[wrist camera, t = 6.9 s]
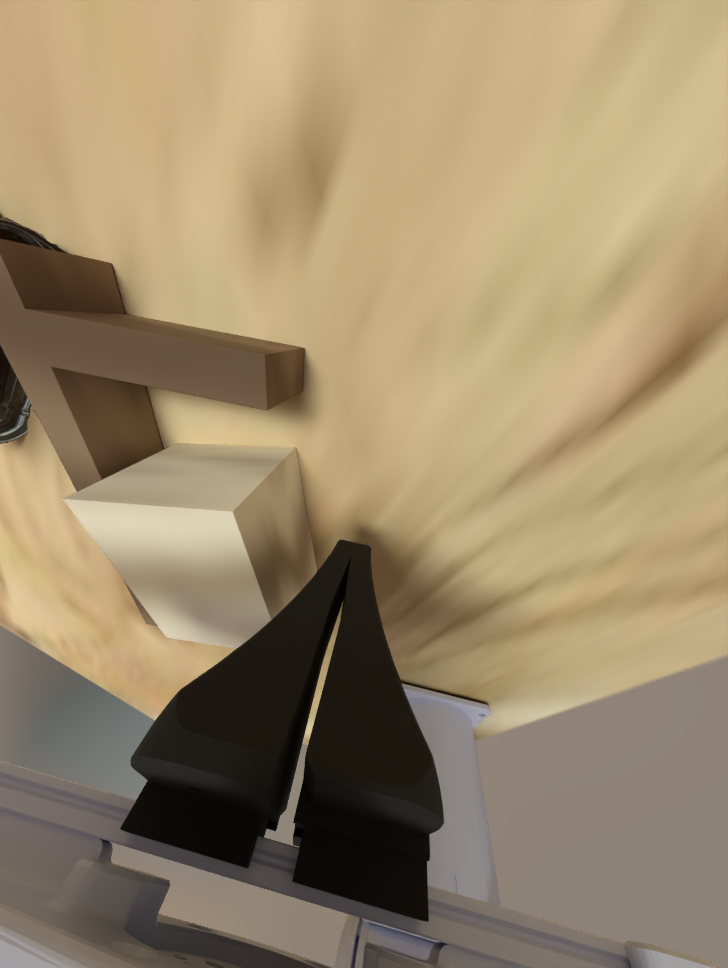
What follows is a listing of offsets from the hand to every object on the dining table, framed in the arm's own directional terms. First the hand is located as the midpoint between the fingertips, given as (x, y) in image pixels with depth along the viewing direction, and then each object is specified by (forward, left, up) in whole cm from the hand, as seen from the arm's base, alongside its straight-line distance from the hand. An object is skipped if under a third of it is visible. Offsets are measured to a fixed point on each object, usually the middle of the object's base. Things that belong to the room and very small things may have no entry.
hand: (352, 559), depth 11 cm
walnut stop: (0, +8, -2) cm, 8 cm away
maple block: (-1, +6, -3) cm, 6 cm away
